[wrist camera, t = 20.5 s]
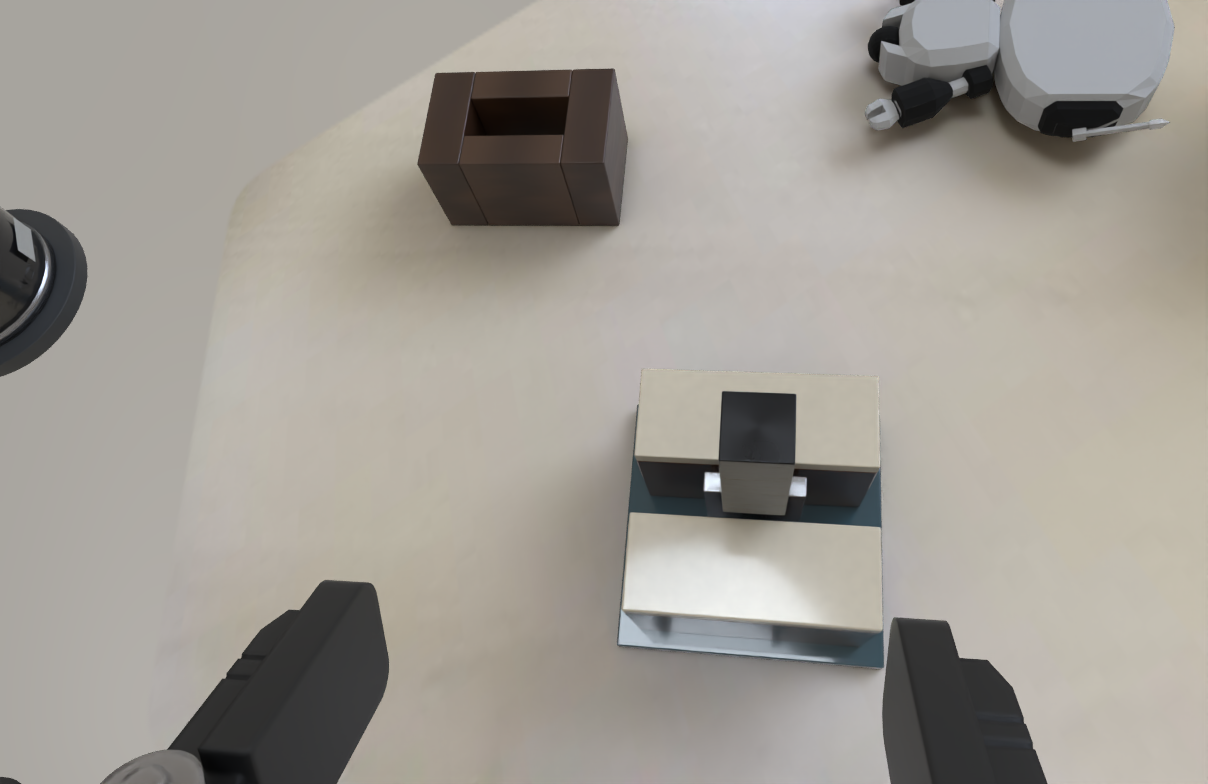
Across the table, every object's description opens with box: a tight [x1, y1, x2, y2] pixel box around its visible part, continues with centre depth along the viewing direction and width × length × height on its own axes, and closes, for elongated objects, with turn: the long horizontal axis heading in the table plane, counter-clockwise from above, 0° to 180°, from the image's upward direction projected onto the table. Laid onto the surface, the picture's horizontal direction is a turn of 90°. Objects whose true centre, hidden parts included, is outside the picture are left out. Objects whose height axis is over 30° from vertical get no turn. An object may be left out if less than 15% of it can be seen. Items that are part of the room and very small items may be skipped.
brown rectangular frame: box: [418, 69, 628, 226], centre depth 49 cm, size 10×6×6 cm, turn 85°
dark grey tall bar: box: [703, 391, 807, 522], centre depth 35 cm, size 4×2×15 cm, turn 85°
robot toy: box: [865, 0, 1175, 142], centre depth 48 cm, size 12×4×15 cm
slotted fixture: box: [617, 369, 884, 669], centre depth 39 cm, size 12×12×8 cm
